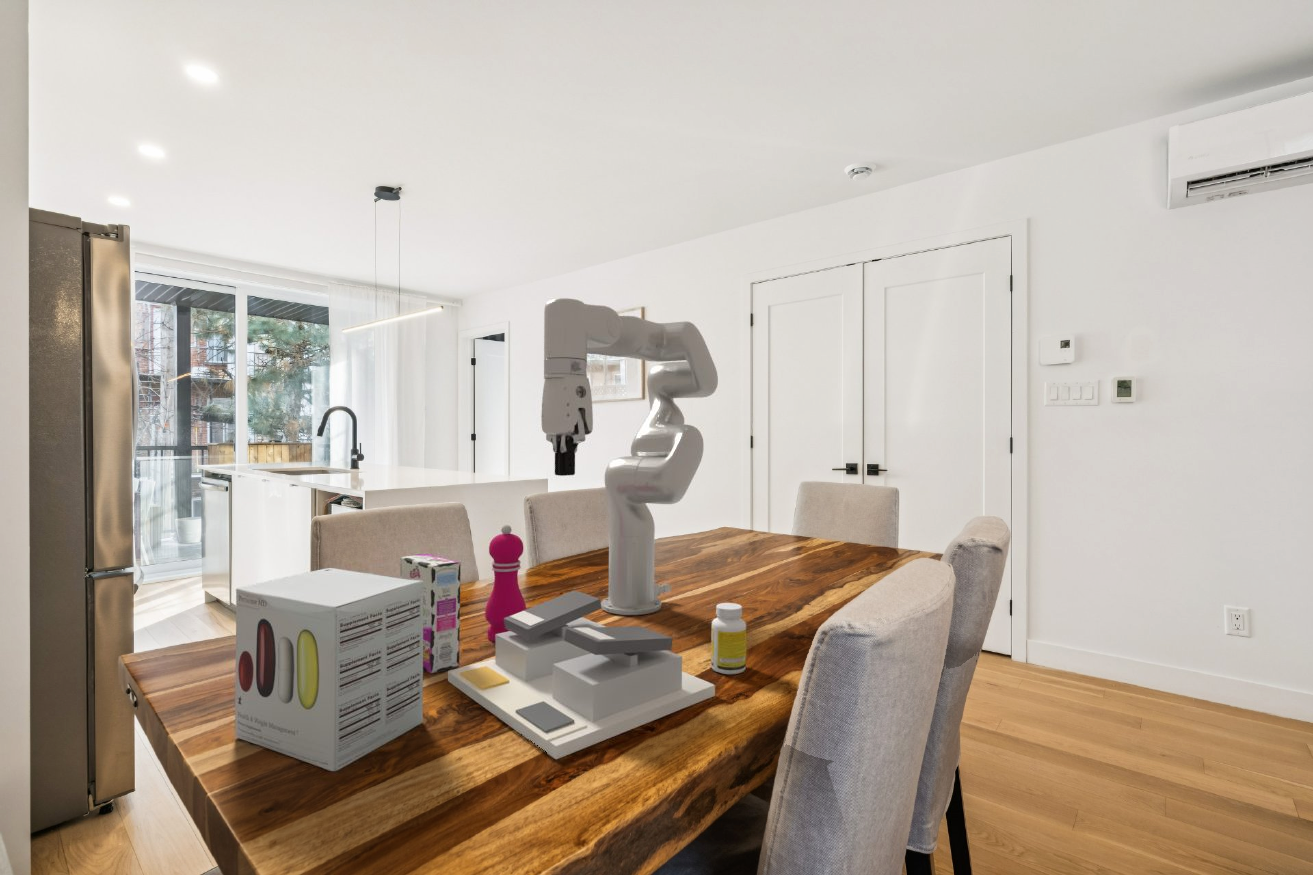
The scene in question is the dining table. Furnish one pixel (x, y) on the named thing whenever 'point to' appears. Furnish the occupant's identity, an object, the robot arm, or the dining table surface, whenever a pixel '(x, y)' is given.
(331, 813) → the dining table surface
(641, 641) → the plain switch
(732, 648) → the supplement bottle
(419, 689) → the supplement box
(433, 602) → the candy bar box
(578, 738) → the switch unit
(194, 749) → the dining table surface
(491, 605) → the pepper mill
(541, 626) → the marked switch
